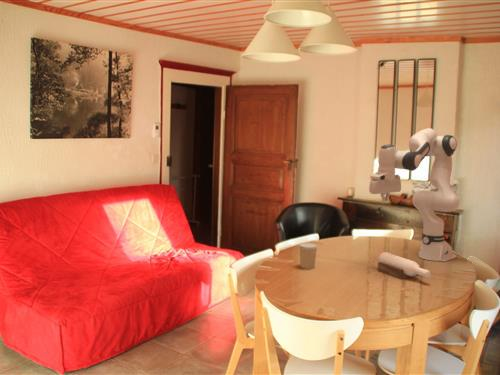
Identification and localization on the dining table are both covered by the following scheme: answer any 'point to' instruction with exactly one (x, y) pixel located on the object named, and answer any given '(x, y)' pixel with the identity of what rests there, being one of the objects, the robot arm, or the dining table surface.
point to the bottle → (403, 265)
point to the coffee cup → (307, 255)
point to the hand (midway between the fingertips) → (384, 201)
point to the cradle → (392, 270)
